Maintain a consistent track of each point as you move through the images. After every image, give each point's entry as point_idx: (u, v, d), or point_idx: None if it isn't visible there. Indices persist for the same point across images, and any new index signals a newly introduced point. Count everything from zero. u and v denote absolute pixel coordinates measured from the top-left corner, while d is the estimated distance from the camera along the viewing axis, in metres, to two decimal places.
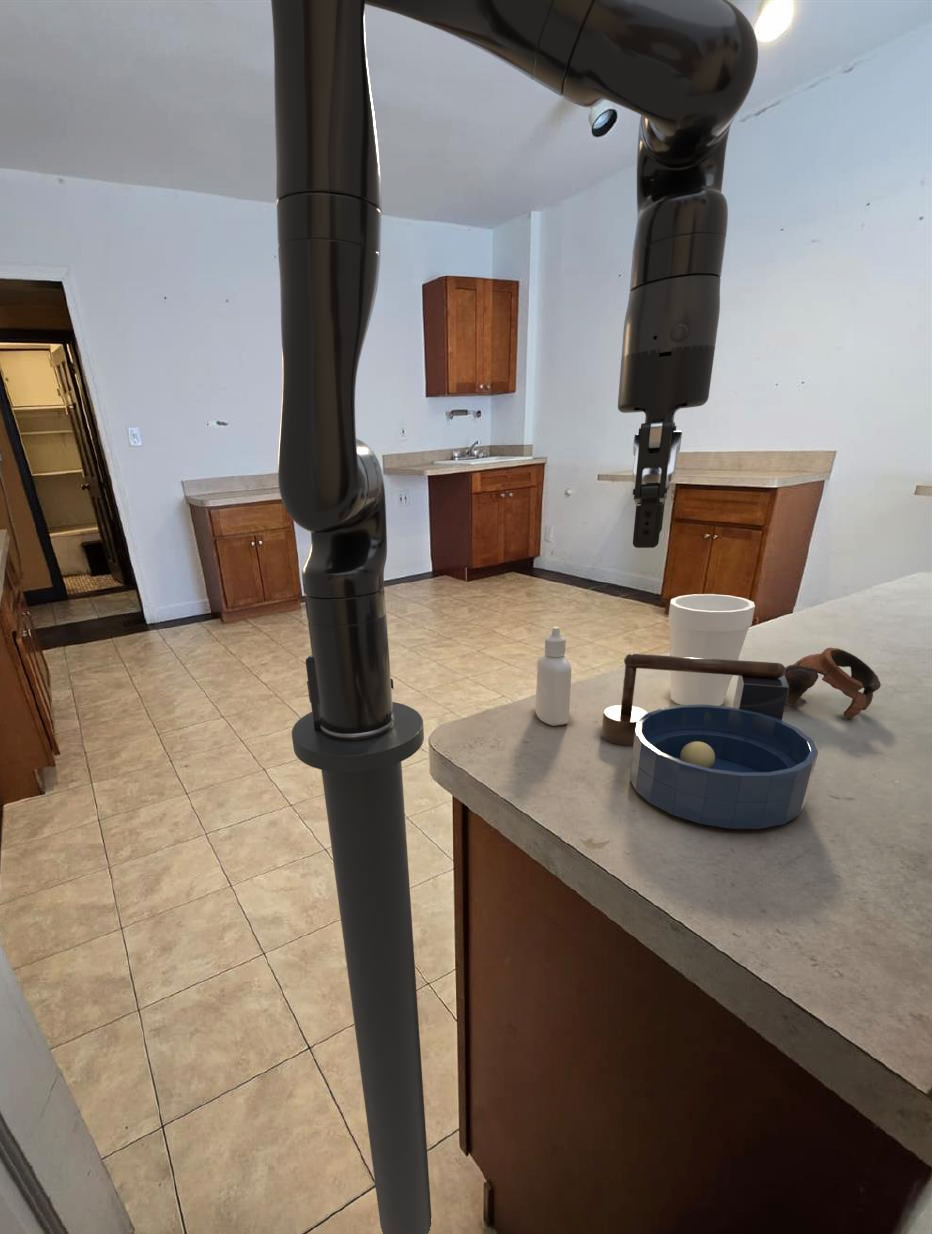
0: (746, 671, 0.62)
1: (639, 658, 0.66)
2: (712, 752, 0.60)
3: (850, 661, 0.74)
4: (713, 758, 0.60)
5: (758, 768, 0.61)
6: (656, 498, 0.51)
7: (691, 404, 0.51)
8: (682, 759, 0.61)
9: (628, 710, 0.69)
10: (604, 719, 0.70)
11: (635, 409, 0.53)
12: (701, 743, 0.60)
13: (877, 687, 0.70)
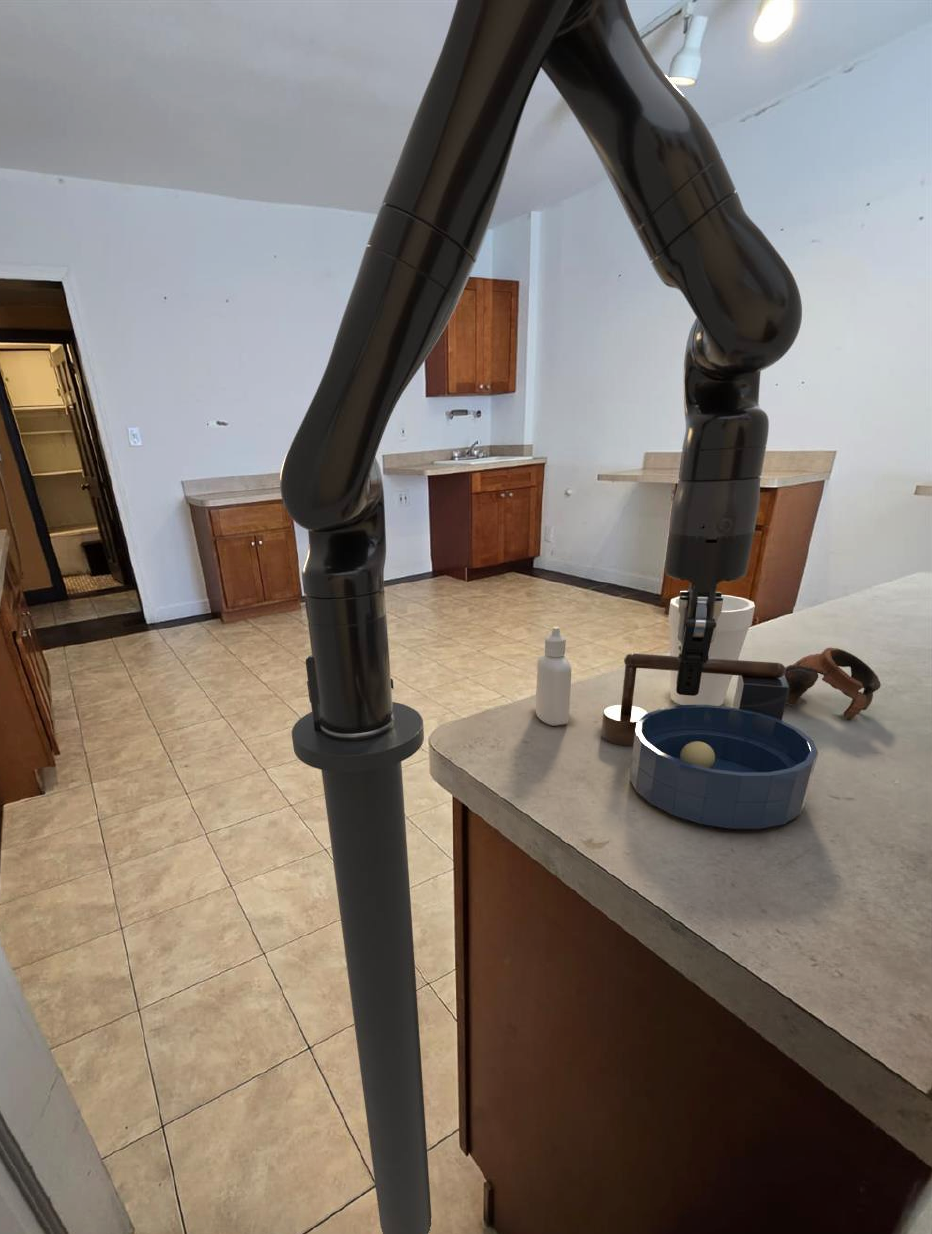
0: (746, 671, 0.62)
1: (639, 658, 0.66)
2: (712, 752, 0.60)
3: (850, 661, 0.74)
4: (713, 758, 0.60)
5: (758, 768, 0.61)
6: None
7: (732, 580, 0.58)
8: (682, 759, 0.61)
9: (628, 710, 0.69)
10: (604, 719, 0.70)
11: (682, 579, 0.60)
12: (701, 743, 0.60)
13: (877, 687, 0.70)
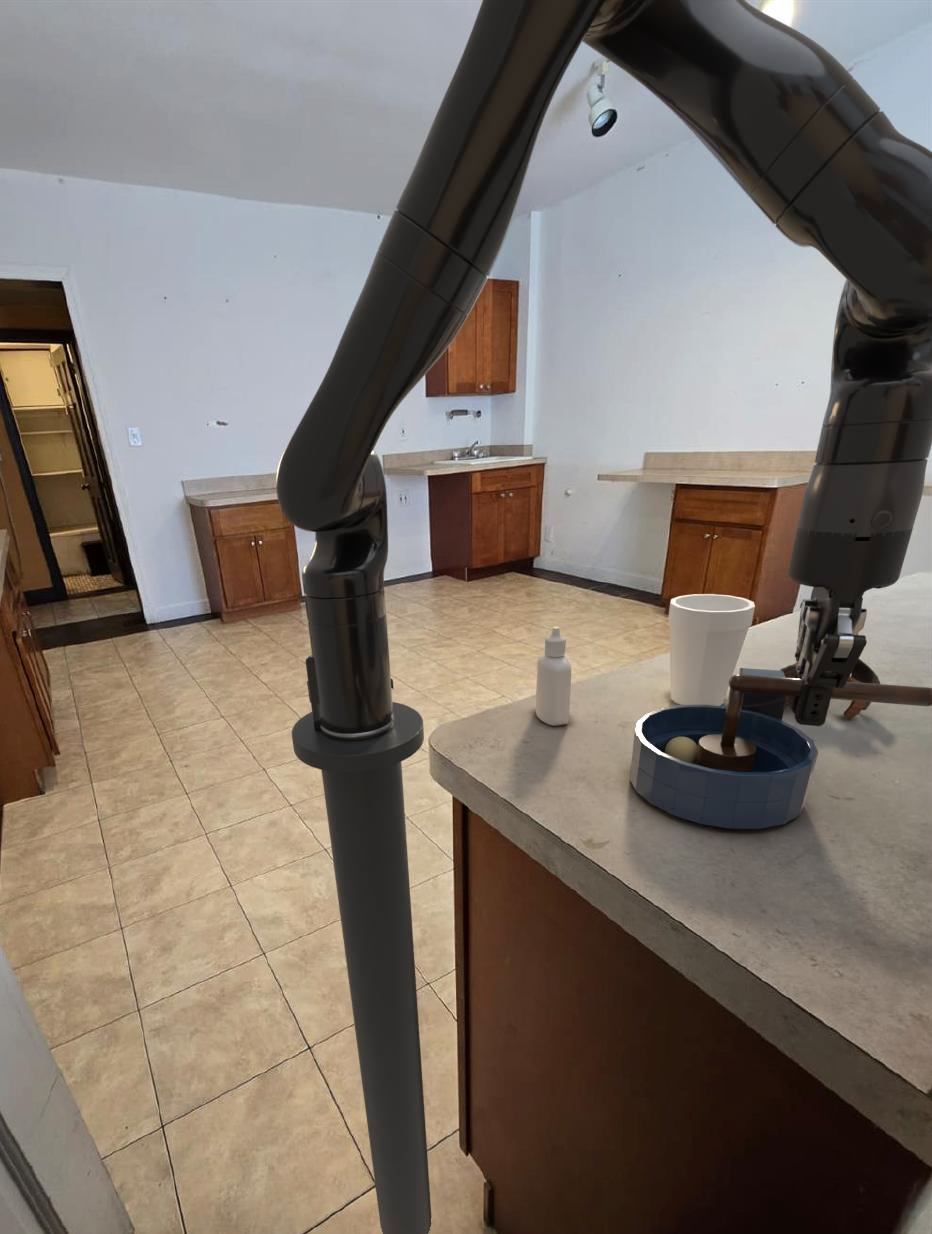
0: (888, 697, 0.51)
1: (749, 680, 0.55)
2: (684, 737, 0.62)
3: None
4: (689, 740, 0.61)
5: (758, 768, 0.61)
6: None
7: (883, 587, 0.47)
8: None
9: (731, 741, 0.58)
10: (701, 751, 0.59)
11: None
12: None
13: None
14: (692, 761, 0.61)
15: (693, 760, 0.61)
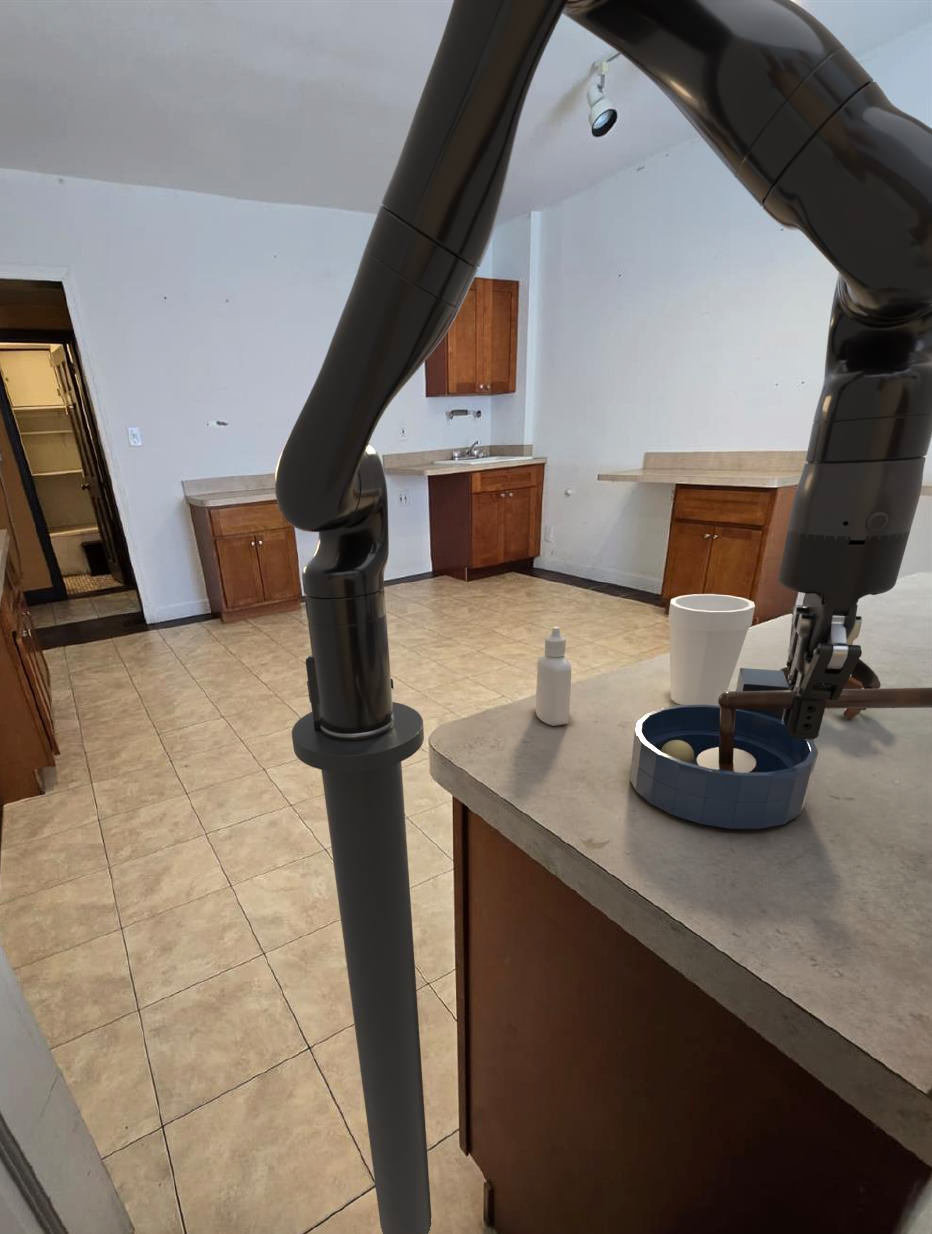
0: (888, 703, 0.48)
1: (739, 698, 0.52)
2: (681, 744, 0.61)
3: None
4: (684, 749, 0.60)
5: (758, 768, 0.61)
6: None
7: (879, 593, 0.44)
8: None
9: (729, 758, 0.56)
10: None
11: None
12: None
13: (877, 687, 0.70)
14: None
15: None
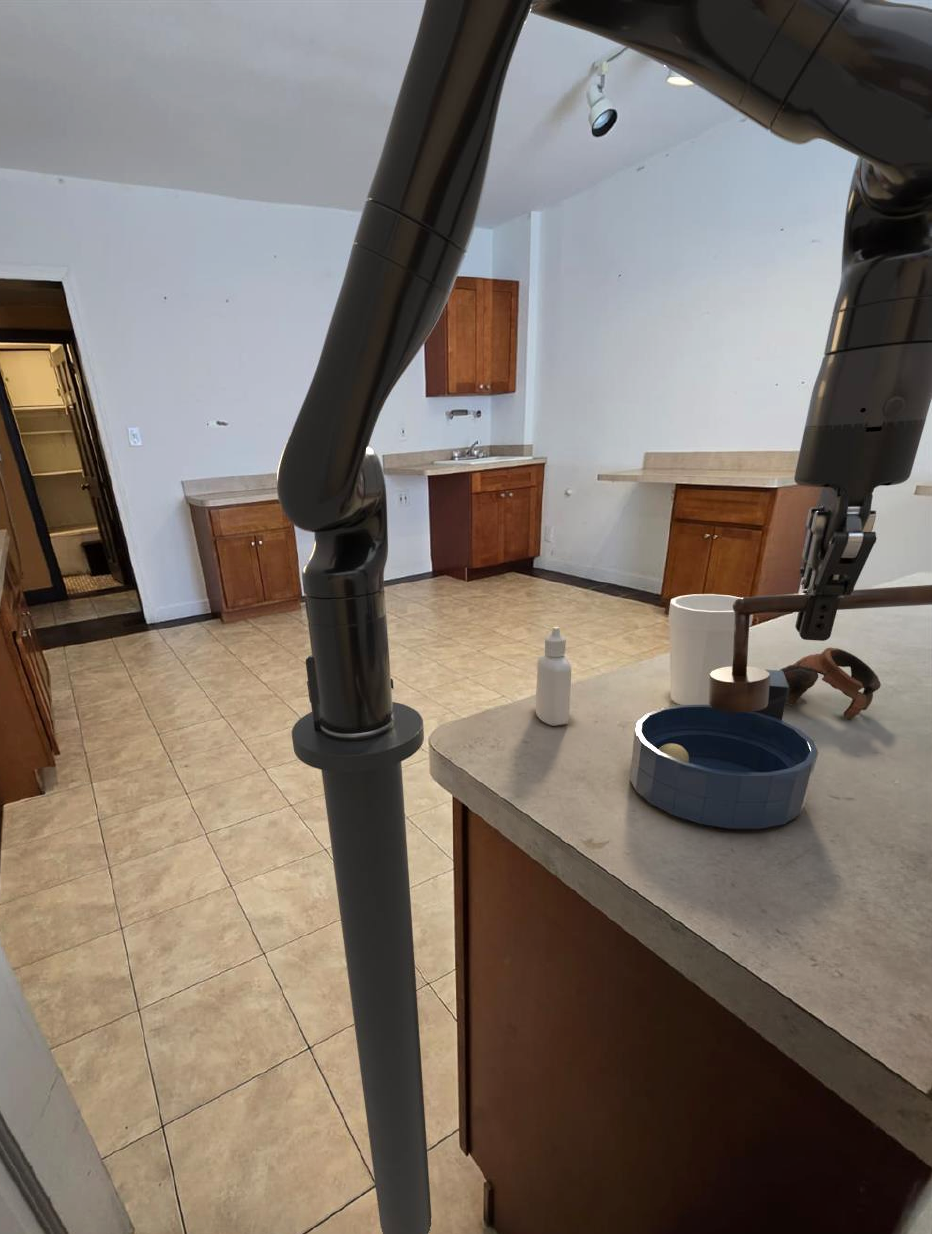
0: (901, 599, 0.49)
1: (753, 601, 0.53)
2: (673, 754, 0.60)
3: (850, 661, 0.74)
4: None
5: (758, 768, 0.61)
6: None
7: (894, 483, 0.45)
8: None
9: (743, 669, 0.56)
10: (712, 683, 0.57)
11: (824, 485, 0.47)
12: (661, 749, 0.61)
13: (877, 687, 0.70)
14: None
15: None
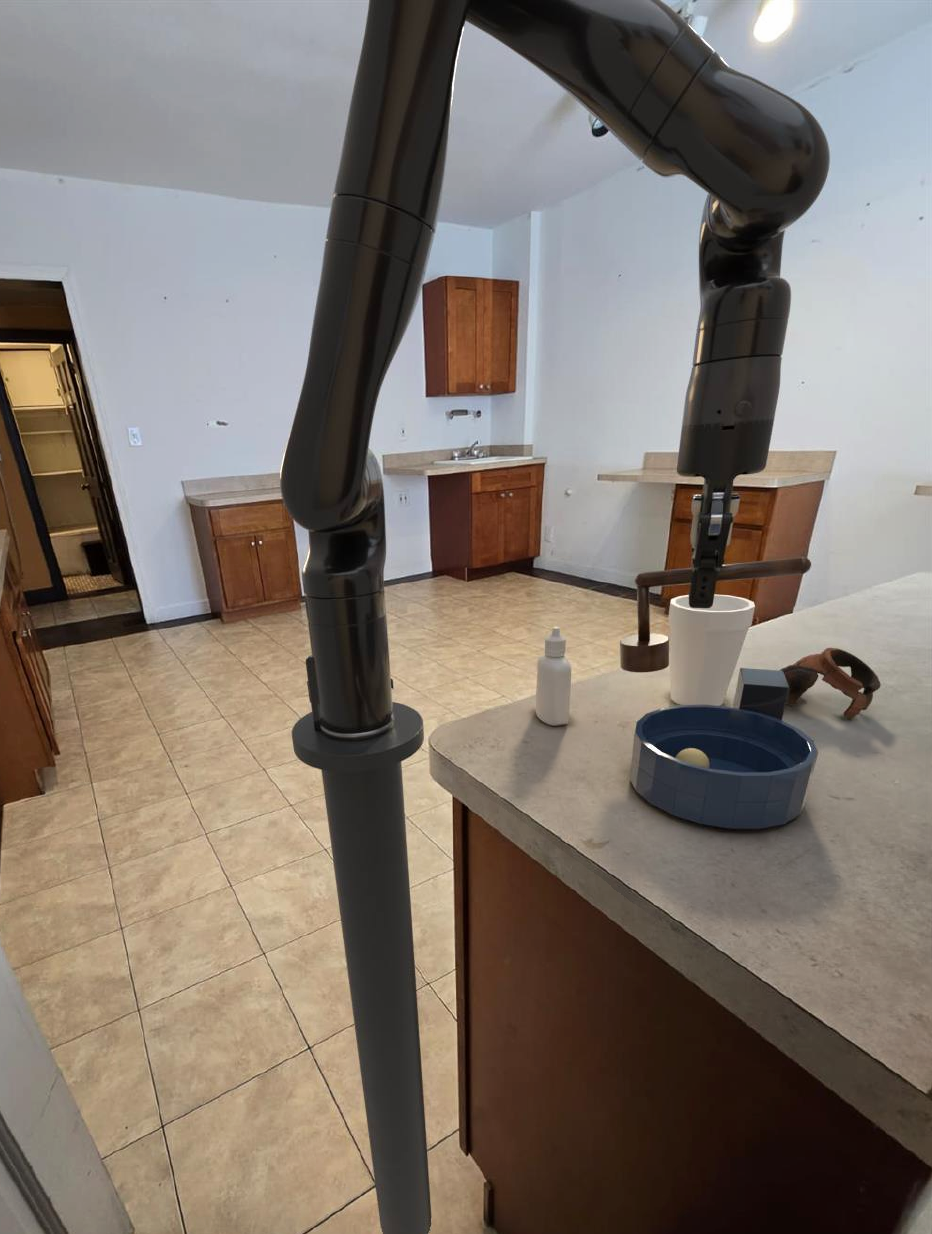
0: (768, 570, 0.58)
1: (650, 575, 0.62)
2: None
3: (850, 661, 0.74)
4: None
5: (758, 768, 0.61)
6: None
7: (751, 473, 0.54)
8: None
9: (646, 635, 0.65)
10: (621, 648, 0.66)
11: (696, 475, 0.56)
12: (698, 757, 0.58)
13: (877, 687, 0.70)
14: None
15: None
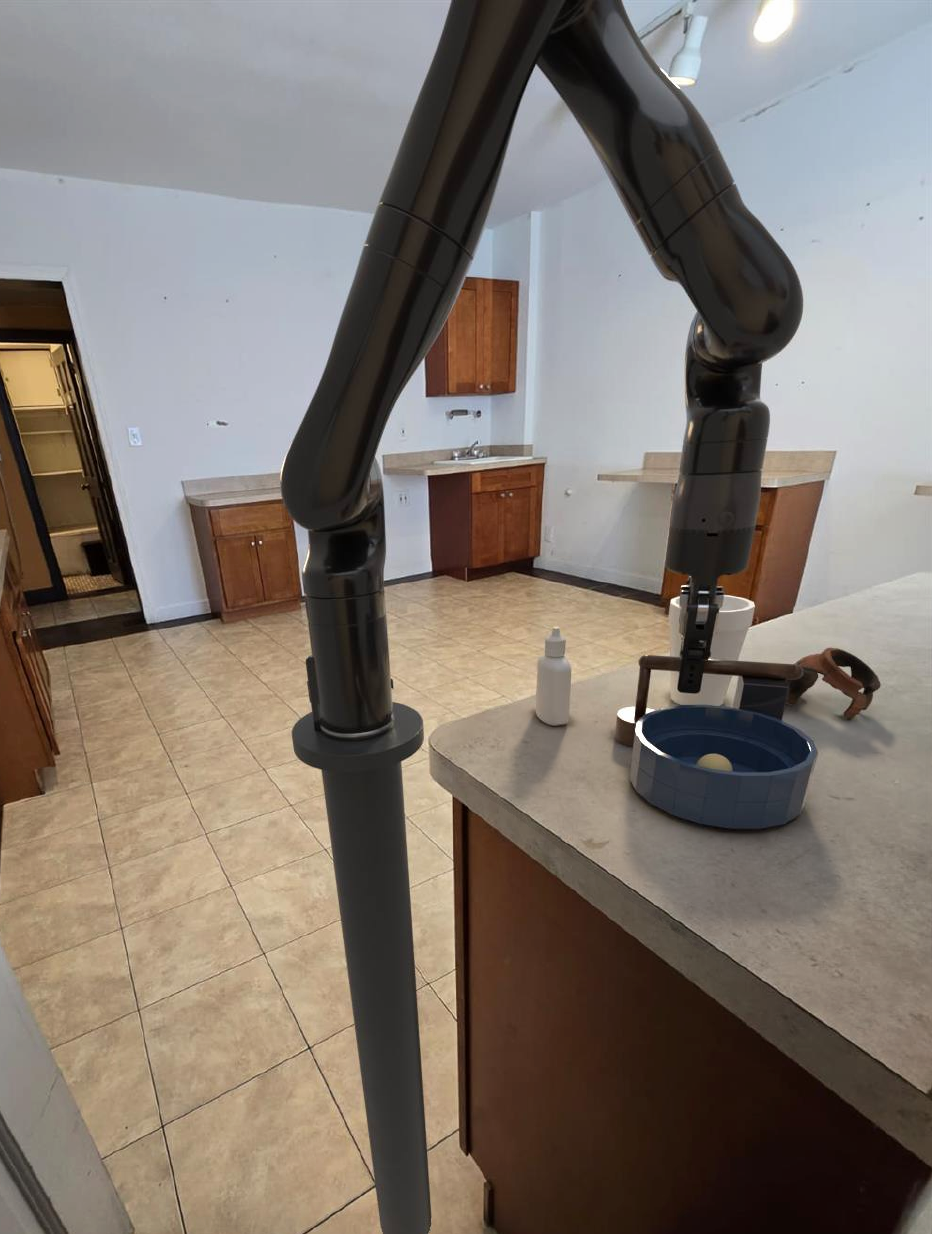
0: (763, 673, 0.61)
1: (654, 659, 0.66)
2: None
3: (850, 661, 0.74)
4: None
5: (758, 768, 0.61)
6: None
7: None
8: (716, 756, 0.58)
9: (642, 712, 0.68)
10: (618, 721, 0.69)
11: (683, 573, 0.59)
12: None
13: (877, 687, 0.70)
14: (697, 763, 0.59)
15: (696, 764, 0.59)
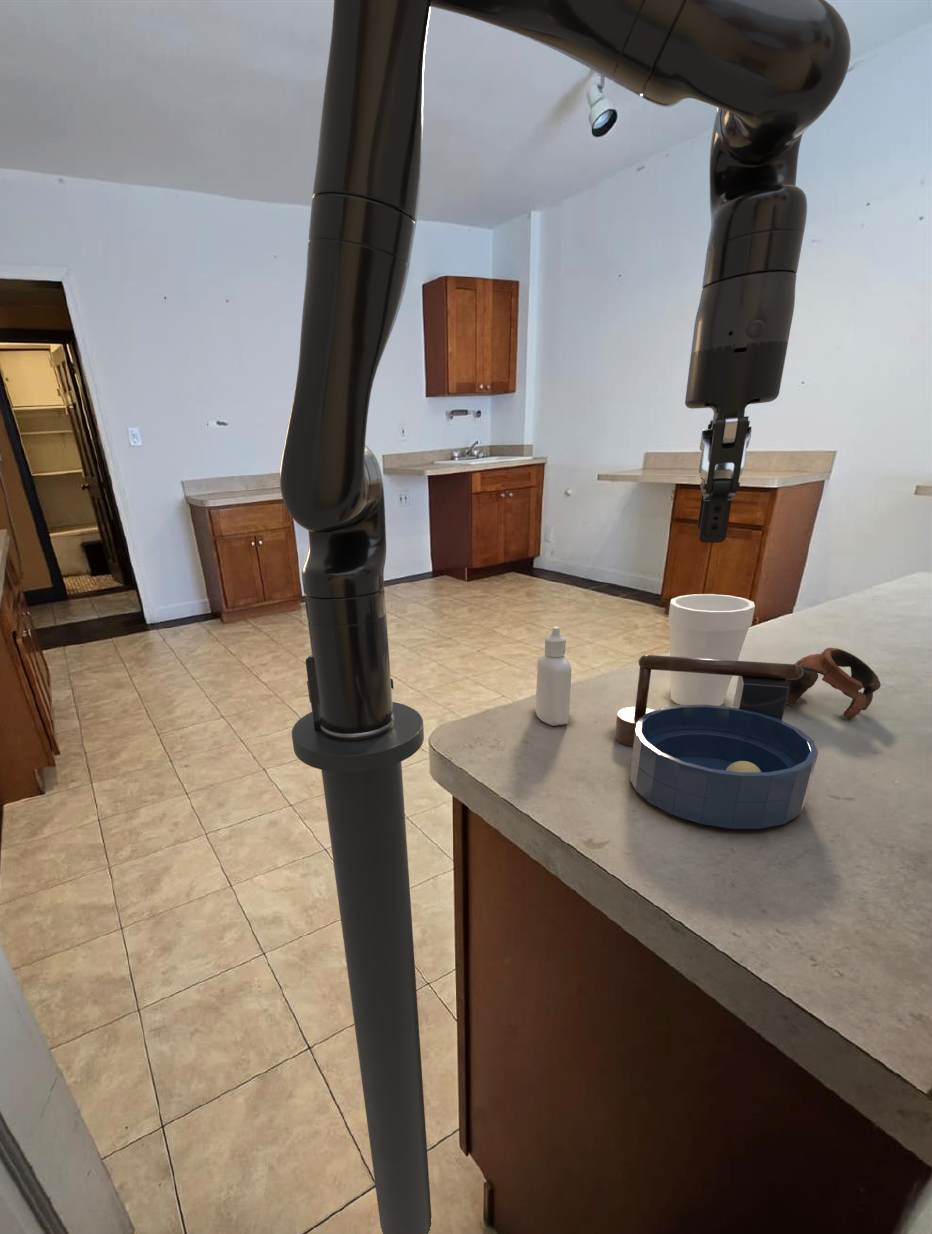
0: (763, 673, 0.61)
1: (654, 659, 0.66)
2: None
3: (850, 661, 0.74)
4: None
5: None
6: (728, 493, 0.52)
7: (763, 400, 0.52)
8: None
9: (642, 712, 0.68)
10: (618, 721, 0.69)
11: (705, 405, 0.53)
12: None
13: (877, 687, 0.70)
14: (750, 764, 0.56)
15: (748, 764, 0.56)
